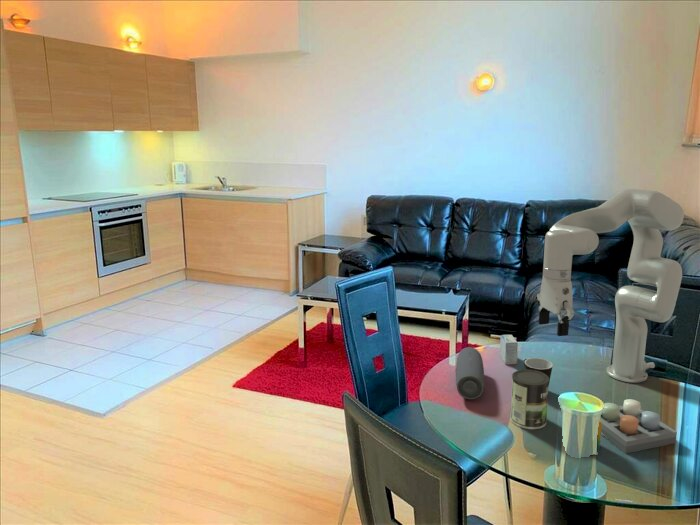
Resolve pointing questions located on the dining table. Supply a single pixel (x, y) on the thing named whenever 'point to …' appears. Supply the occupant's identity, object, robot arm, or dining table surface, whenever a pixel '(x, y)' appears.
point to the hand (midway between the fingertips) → (552, 329)
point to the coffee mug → (539, 365)
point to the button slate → (650, 420)
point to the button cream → (631, 407)
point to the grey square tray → (637, 435)
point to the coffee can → (529, 399)
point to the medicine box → (508, 349)
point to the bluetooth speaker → (469, 373)
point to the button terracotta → (629, 424)
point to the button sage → (611, 411)
